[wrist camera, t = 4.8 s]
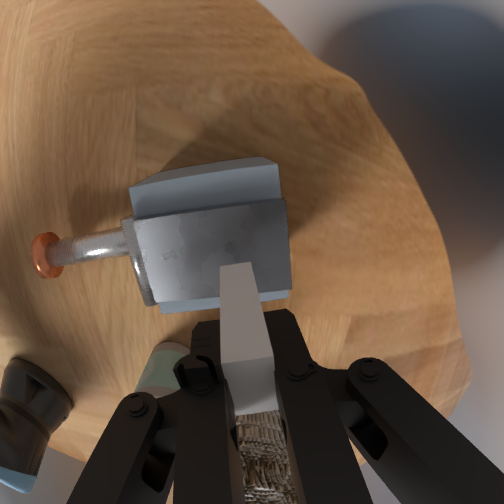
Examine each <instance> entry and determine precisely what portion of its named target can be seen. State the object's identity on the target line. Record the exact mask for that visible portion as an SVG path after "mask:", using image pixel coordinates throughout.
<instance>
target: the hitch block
mask: <svg viewBox="0 0 504 504" xmlns="http://www.w3.org/2000/svg"><path fill="white" fill-rule="evenodd" d="M129 193H130V198H131V203H132V208H133V212H134V215H137V216H138V217H141V216H147V215H153V214H159V213H166V212H172V211H179V210H185V209H192V208H199V207H207V206H214V205H222V204H229V203H237V202H246V201H254V200H263V199H273V198H281V190H280V180H279V170H278V164H277V163H275V162H273V161H271V160H268V159H266V158H264V157H262V156H259V157H251V158H243V159H235V160H228V161H221V162H214V163H207V164H201V165H195V166H189V167H184V168H178V169H173V170H168V171H162V172H158V173H156V174H154V175H152V176H150V177H148V178H146V179H145V180H143V181H141V182H139V183H137V184H135V185H133V186H131V187H130V188H129ZM258 294H259V298H260V302H264V301H271V300H277V299H284V298H289V292H288V290H283V291H274V292H265V293H258ZM158 304H159V307H160V310H161V313H162V314H169V313H178V312H187V311H196V310H205V309H213V308H220V297H215V298H204V299H192V300H179V301H165V302H159V303H158Z"/></svg>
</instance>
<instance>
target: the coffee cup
mask: <svg viewBox="0 0 504 504" xmlns="http://www.w3.org/2000/svg"><path fill="white" fill-rule="evenodd" d="M188 354H190V349H188V348H187V347H186V346H184V345H182V344H179V343H175V342H164V343H161V344H158V345H157V346H156V347H155V348H154V349H153V351H152V353H151V356H150V358H149V360H148V362H147V364H146V366H145V368H144V371H143V373H142V375H141V377H140V380H139V382H138V384H137V386H136V389H135V391H134V393H135V392H147V393H149V394H152V395H153V396H154V397H155V398H159V397H163V396H166V395H169V394H172V393H174V392H176V391H177V390H179V389H180V386H179V383H178V381H177V379H176V377H175V374H174V372H173V368H174V365H175V363H176V362H177V361H178V360H179V359H180V358H182V357H184V356H186V355H188Z"/></svg>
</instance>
